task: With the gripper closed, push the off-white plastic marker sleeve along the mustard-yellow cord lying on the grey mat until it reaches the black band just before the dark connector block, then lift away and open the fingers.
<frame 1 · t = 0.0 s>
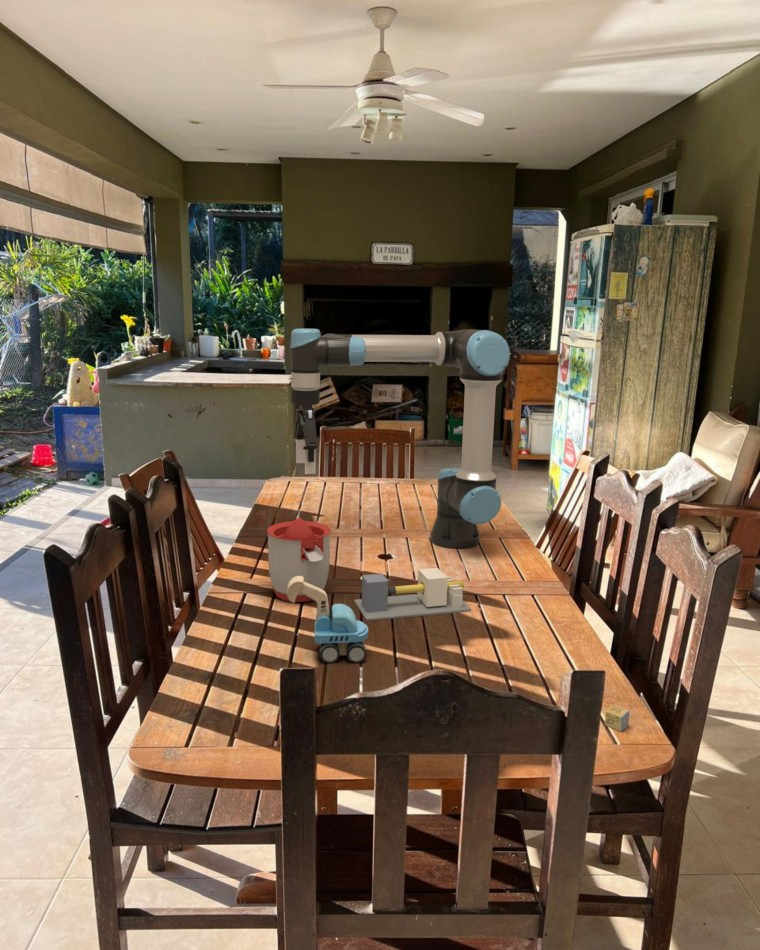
hand: (305, 468, 202), 28 cm above the table, fingers open, 13 cm apart
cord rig: (412, 606, 183), on the table
alphabet block: (616, 726, 133), on the table
toy excavator: (327, 655, 158), on the table
citrus juicer: (300, 596, 189), on the table
sleeve: (432, 587, 184), point 4 cm above the table, slide at 0.0 cm
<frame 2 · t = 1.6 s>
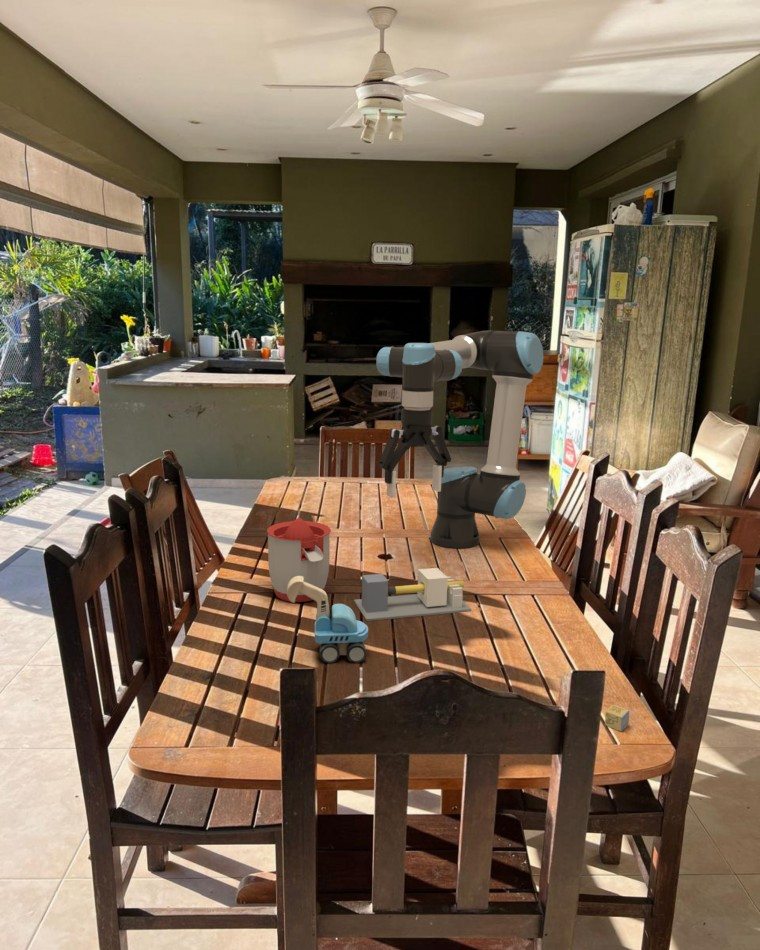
hand: (414, 493, 187), 26 cm above the table, fingers open, 13 cm apart
nothing on the table moved.
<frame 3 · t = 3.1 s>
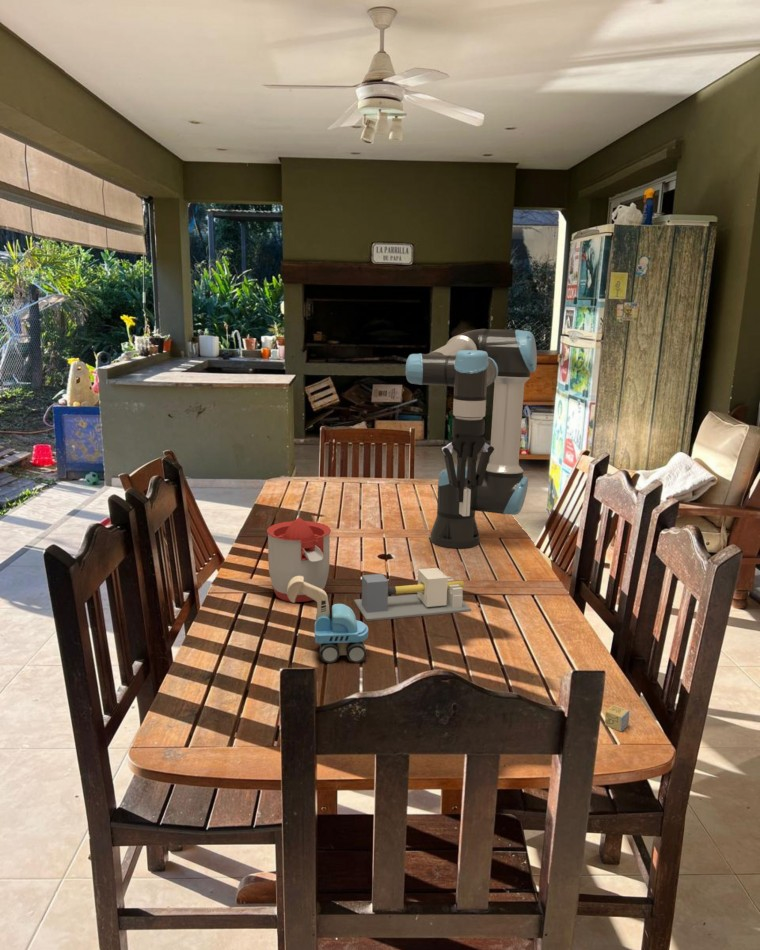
hand: (464, 514, 182), 22 cm above the table, fingers closed
nothing on the table moved.
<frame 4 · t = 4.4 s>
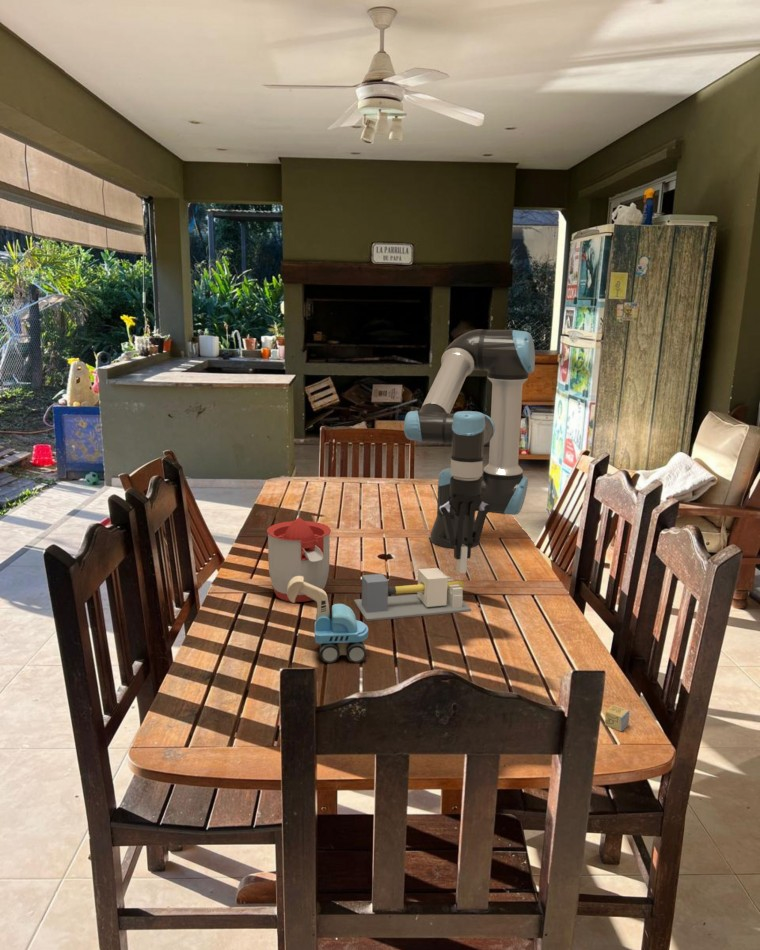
hand: (461, 571, 185), 8 cm above the table, fingers closed
nothing on the table moved.
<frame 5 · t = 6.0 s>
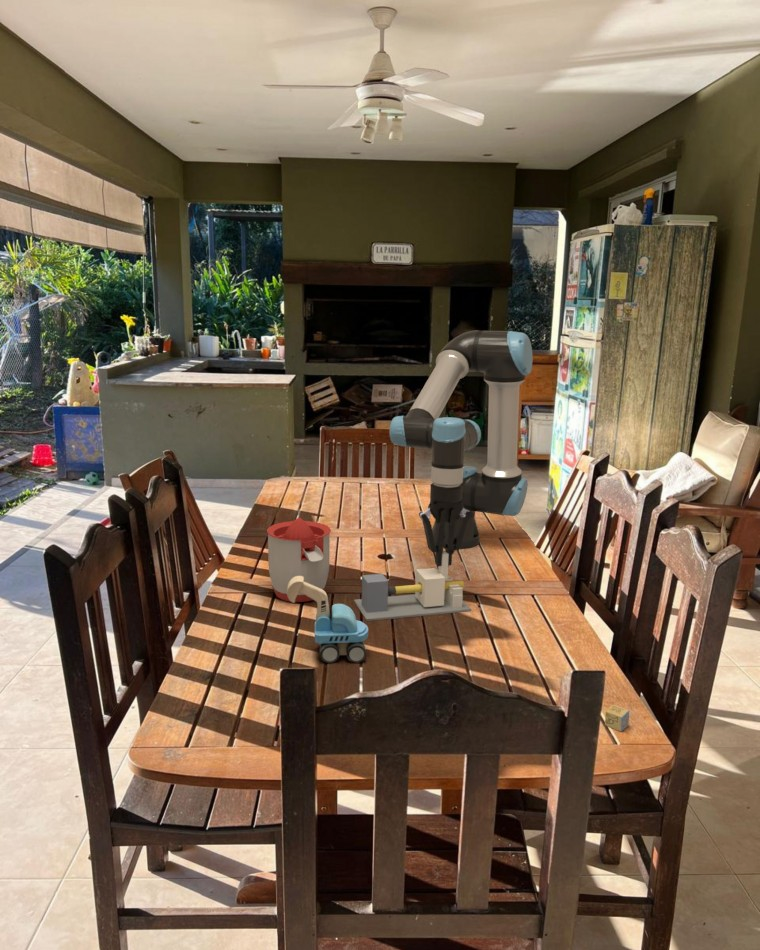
hand: (442, 577, 184), 7 cm above the table, fingers closed
sleeve: (429, 587, 184), point 4 cm above the table, slide at 0.6 cm, touching gripper
everything else where it was.
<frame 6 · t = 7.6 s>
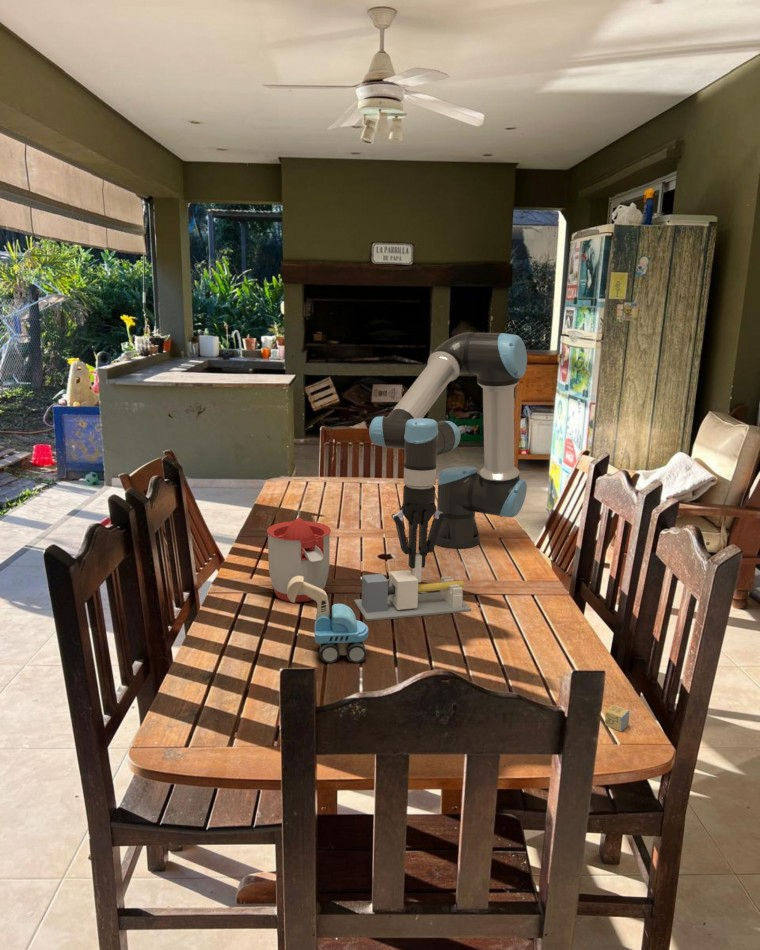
hand: (416, 580, 182), 7 cm above the table, fingers closed
sleeve: (403, 589, 182), point 4 cm above the table, slide at 7.4 cm, touching gripper
everything else where it was.
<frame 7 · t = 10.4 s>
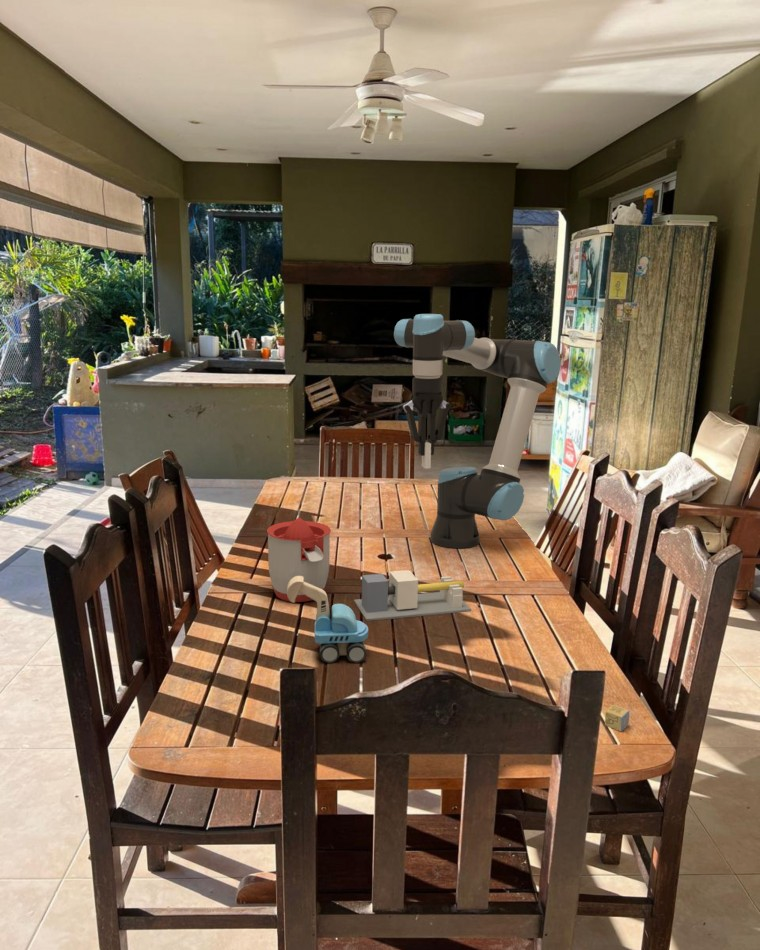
hand: (426, 467, 197), 30 cm above the table, fingers closed
sleeve: (403, 589, 182), point 4 cm above the table, slide at 7.4 cm
everything else where it was.
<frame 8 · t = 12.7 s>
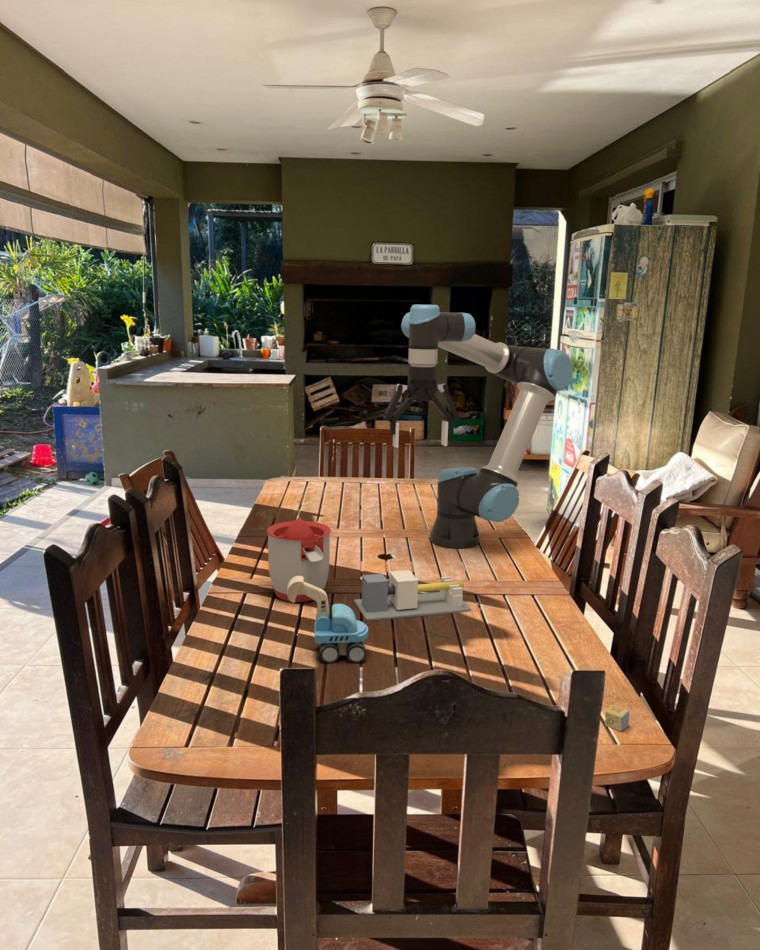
hand: (420, 446, 200), 35 cm above the table, fingers open, 13 cm apart
nothing on the table moved.
at the end: sleeve slide at 7.4 cm; the gripper is holding nothing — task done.
